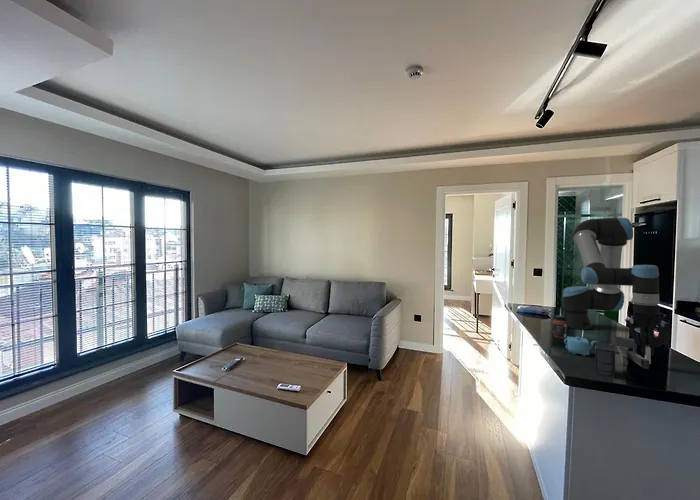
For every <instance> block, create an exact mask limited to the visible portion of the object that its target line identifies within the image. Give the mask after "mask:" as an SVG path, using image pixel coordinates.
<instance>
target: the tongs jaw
mask: <svg viewBox="0 0 700 500" xmlns="http://www.w3.org/2000/svg"><path fill="white" fill-rule="evenodd" d="M628 359H630V360H631V361H633V362H634V363H636V364H637V365H638V366H640V367H641V368H642V369H647V370H650V364H649V361H648V360H646V359H645V357H643V356H642V355H640V354H638V352H637V353H635V352H633V350H628Z"/></svg>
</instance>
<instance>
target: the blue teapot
mask: <svg viewBox="0 0 700 500" xmlns="http://www.w3.org/2000/svg"><path fill="white" fill-rule="evenodd" d="M563 342H564V344H565V349H567V351H568V353H570V354H571V355H573V356H575V355H577V354H579V355H581V356H583V357H586V356H590V350H591V349H592V348H593V346H594V344H596V342H599V341H597V340H592V341H591V342H590V341H589V340H588V339H587V338H585V337H580V336H568V335H567V338H566V339H563Z"/></svg>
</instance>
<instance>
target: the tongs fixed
mask: <svg viewBox="0 0 700 500" xmlns="http://www.w3.org/2000/svg"><path fill="white" fill-rule="evenodd" d="M618 347H619V349H618V351H619V352H618V355H619V358H620V360H621V363H622V365H623V366H627V367H628V365H629V349H625V347H620V346H618Z"/></svg>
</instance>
